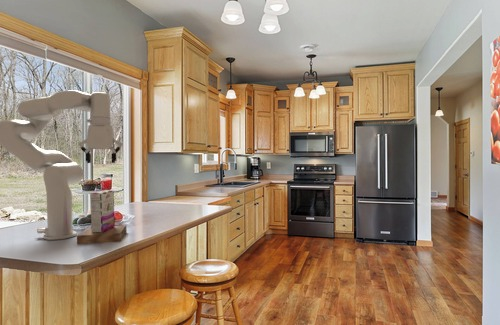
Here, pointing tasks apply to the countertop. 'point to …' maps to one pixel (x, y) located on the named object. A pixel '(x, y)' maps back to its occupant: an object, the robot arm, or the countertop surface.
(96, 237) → the walnut block
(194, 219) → the countertop surface
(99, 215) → the candy bar box
